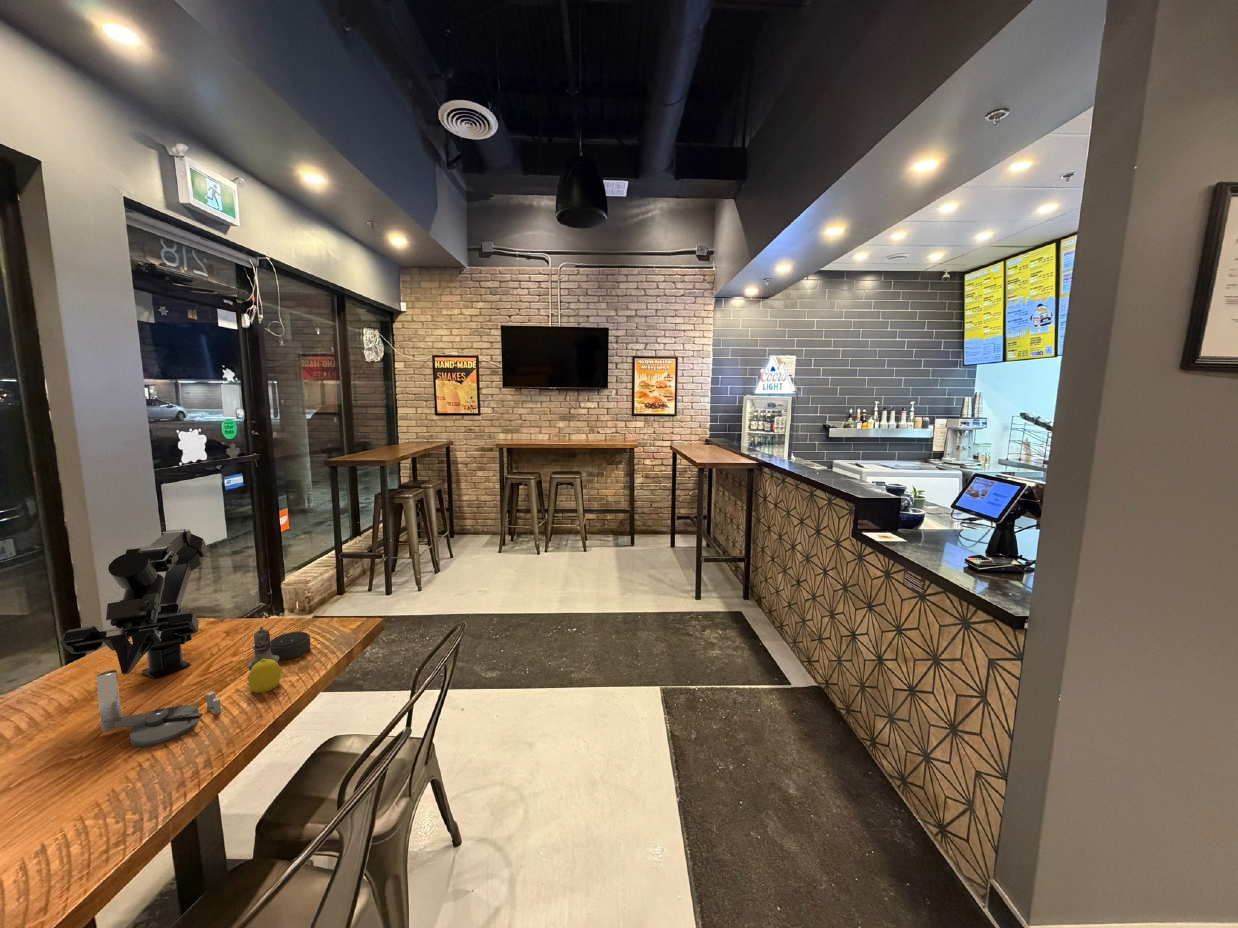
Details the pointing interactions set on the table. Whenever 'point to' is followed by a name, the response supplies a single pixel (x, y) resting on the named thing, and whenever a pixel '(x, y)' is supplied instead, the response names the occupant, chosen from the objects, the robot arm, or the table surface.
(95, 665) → the table surface
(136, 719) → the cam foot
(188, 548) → the robot arm
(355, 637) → the table surface
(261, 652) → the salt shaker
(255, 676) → the lemon
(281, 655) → the smart speaker
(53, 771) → the table surface
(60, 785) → the table surface
